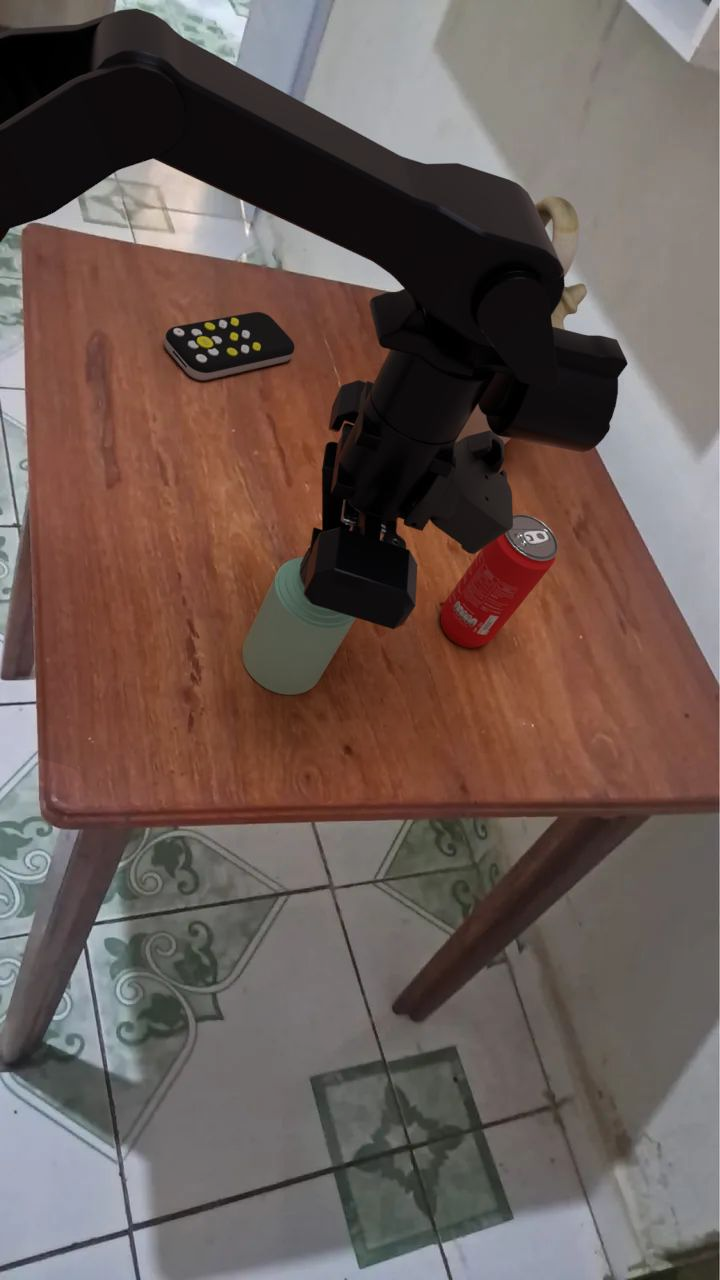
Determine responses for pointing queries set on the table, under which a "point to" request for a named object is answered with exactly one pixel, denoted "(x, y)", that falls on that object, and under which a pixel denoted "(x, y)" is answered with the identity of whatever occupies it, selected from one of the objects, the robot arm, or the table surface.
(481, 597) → the beverage can
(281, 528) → the table surface
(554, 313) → the jug
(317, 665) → the bottle
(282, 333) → the remote control
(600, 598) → the table surface
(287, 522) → the table surface
